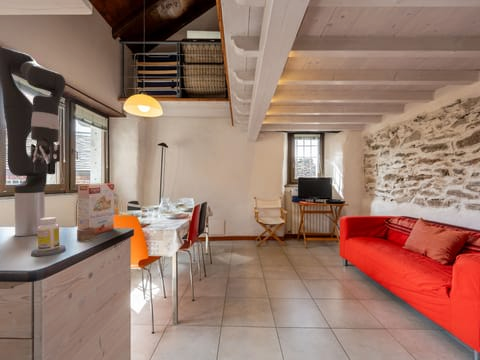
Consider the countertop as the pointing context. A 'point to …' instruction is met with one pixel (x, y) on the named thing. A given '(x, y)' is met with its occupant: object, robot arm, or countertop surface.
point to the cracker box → (96, 207)
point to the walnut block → (85, 234)
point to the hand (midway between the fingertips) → (44, 173)
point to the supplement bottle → (48, 234)
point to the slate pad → (48, 251)
